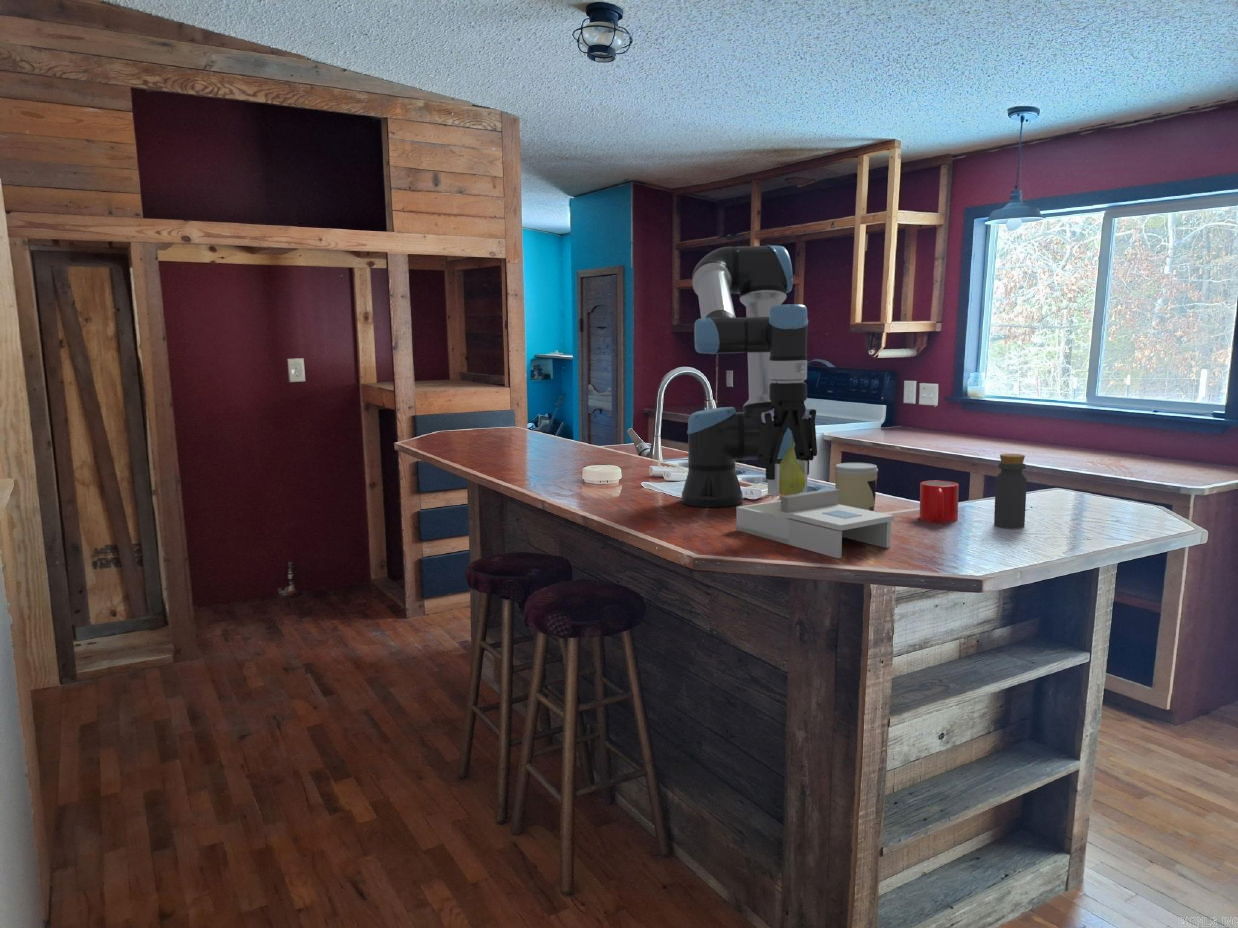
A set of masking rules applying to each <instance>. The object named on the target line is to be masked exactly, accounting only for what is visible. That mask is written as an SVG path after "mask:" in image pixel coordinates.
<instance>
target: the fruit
mask: <svg viewBox="0 0 1238 928" xmlns="http://www.w3.org/2000/svg"><path fill="white" fill-rule="evenodd" d="M793 443H794V439H793V437H792V443H791V446H790V447H789V448H788V450H787V451H786V453H785V455H784V457H783V459H781V461H780V463H779V464H780V484H779V495H781V496H786V495H793V494H799V493H803V492H802V490H803V489H804V486H805V476H804V473H803V471H802V469H801V468H800V466H799V464H798V462H797V460H798V459H797V454H796V450H795V448H794V447H793Z"/></svg>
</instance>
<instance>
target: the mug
mask: <svg viewBox="0 0 1238 928" xmlns="http://www.w3.org/2000/svg"><path fill="white" fill-rule="evenodd" d="M959 485H960V484H959V483H957V482H953V481H947V480H926V481H921V482H920V484H919V488H920V489H919V492H920V493H919V520H922V521H925V520H926V521H927V522H931V523H952V522H956V521H958V518H959V517H958V516H959V491H960V490H959V487H960V486H959Z"/></svg>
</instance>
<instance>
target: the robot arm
mask: <svg viewBox="0 0 1238 928" xmlns="http://www.w3.org/2000/svg"><path fill="white" fill-rule="evenodd" d="M792 266H793V265H792V261H791V258H790V254H789V252H788V250H787V249H786V247H784V246H782V245H770V244H766V245H752V246H751V245H750V246H749V245H748V246H745V245H742V246H724V247H719V248H716V249H714V250H712V251H711V252H709V253H708V254H705V256H704V257H702V258H701V259H700V260H699V261H698V263H697V264H696V266H695V267H694V270H693V272H692V275H691V277H692V278H691V282H692V283H691V284H692V288H693V291H694V293H695V294H696V295H697V297H698V304H699V312H700V318H698V319H696V320H695V322H694V332H693V333H694V334H693V335H694V349H695V351H696V352H697V353H698V354H709V355H715V354H737V353H738V354H740V353H741V354H743V353H744V354H745V353H747V371H748V373H747V374H748V377H747V379H748V400H747V401H746V402H745V403H744V404H743V406H742V412H737V410H736V408H735V407H733V406H727V407H717V408H708V409H703V410H699V411H695V412H693V413H691V414H690V415H689V417H688V418H687V419H688V420H687V421H688V422H687V431H686V433H687V436H688V438H687V439H688V441H687V443H688V445H687V446H688V448H687V449H688V453H687V454H688V455H687V457H688V458H687V459H688V461H687V462H688V463H687V465H688V466H687V467H688V472H687V475H686V479H685V482H684V485H683V490H682V491H681V503H682V504H683V505H687V506H690V507H691V506H692V507H699V508H724V507H732V506H738V505H741V504H743V502H744V499H743V491H742V489H741V485H740V481H739V479H738V475H737V472H736V471H737V470H736V461H740V460H743V461H747V460H750V461H751V460H754V461H755V460H757V461H759V462H761V463H763V464H765V479H766V480H767V495H769V496H773V497H780V493H779V484H780V463H777V461H778V460H782V459H783V457H784V455H785V453H786V451H787V450H788V448H789V447H790V446H791V443H792V437H793V439H794V443H793V447H794V449H795V448H796V452H797V456H798V459H797V462H798V464H799V466H800V468H801V469H802V471H803V473H804V476H805V486H804V489H803V490H802V492H801V493H806V492H808V476H809V475H810V461H813V460H814V459H815V457H817V456H818V443H817V432H816V416H817V410H816V409H814V408H807V407H806V405H805V401H806V400H807V398H808V384H807V383H806V382H805V380H807V379H808V324H809V319H808V308H807V306H806V305H804V304H799V303H798V304H787V303H786V304H783V303H784V301H786V299H787V297H788V296H787V294H788V293H790V292H792V289H793V284H794V282H793V280H794V279H793V267H792ZM732 294H733V295H735V294H736V295H737V294H738V295H739V302H740V303H741V304H742V305H744V307H745V310H746V316H744V317H741V316H739V317H736V313H735V310H734V309H735V308H734V304H733V299H732Z"/></svg>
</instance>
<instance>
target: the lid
mask: <svg viewBox="0 0 1238 928" xmlns="http://www.w3.org/2000/svg"><path fill="white" fill-rule="evenodd" d="M780 500H781V516H782V517H786V518H790V519H794V520H799V521H803V522H807V523H811V524H815V525H819V526H824V527H828V528H832V529H836V530H840V531H842V530H847V529H852V528H858V527H863V526H868V525H874V524H879V523H884V522H894V521H895V515H894V514H887V513H884V512H879V511H875V510H874V511H869V510H864V509H860V508H855V507H850V506H845V505H840V504H839V490H838V489H836V488H827V489H821V490H819V489H818V490H812V491H807V492H801V493H799V494H793V495H786V496H784V495H781V496H780Z"/></svg>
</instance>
